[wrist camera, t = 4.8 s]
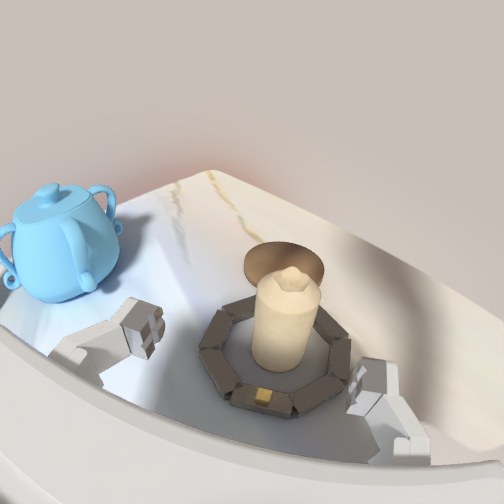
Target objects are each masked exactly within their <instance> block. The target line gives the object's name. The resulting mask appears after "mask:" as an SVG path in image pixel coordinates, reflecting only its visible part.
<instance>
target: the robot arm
mask: <svg viewBox="0 0 504 504" xmlns="http://www.w3.org/2000/svg"><path fill="white" fill-rule="evenodd" d="M162 315H163V310H162V308H161V307H158V306H155V305H153V304H150V303H147V302H144V301H142V300H139V299H136V298H133V297H130V298H128V299H127V300H126V301H125V302H124V303H123V305H122V306H121V307H120V308H119V309H118V311H117V312H116V313H115V314H114V315H113V317H112V318H111V319H110V320H109V321H108V320H105V321H102V322H100V323H98V324H95V325H93V326H90V327H88V328H86V329H83V330H81V331H78V332H76V333H73V334H71V335H68V336H66V337H64V338H63V339H62V340H61V341H60V342H59V343H58V344H57V346H56V347H55V348H54V349H53V351H52V352H51V353H50V354H49V355H48V357H47V356H46V355H44V354H43V353H41V352H40V351H38V350H37V349H35V348H34V347H32V346H31V345H29V344H28V343H26V342H25V341H24V340H22V339H21V338H19V337H18V336H17V335H15V334H14V333H13V332H11V331H10V330H9V329H7V328H6V327H5V326H3V325H0V504H504V465H503V464H502V463H501V462H500V461H499V460H488V461H481V462H473V463H463V464H450V465H431V466H430V437H429V435H428V434H427V432H426V431H425V429H424V428H423V426H422V425H421V423H420V422H419V420H418V419H417V417H416V416H415V414H414V413H413V411H412V410H411V408H410V407H409V405H408V404H407V402H406V401H405V399H404V398H403V396H399V378H398V364H397V362H393V361H387V360H382V359H375V358H368V357H362V356H361V357H360V358H359V360H358V362H357V367H356V368H354V369H353V371H352V373H351V375H350V378H349V383H348V391H349V393H350V395H349V397H348V398H347V402H346V413H347V414H353V415H359V416H365V419H366V421H367V424H368V426H369V428H370V430H371V432H372V434H373V437H374V439H375V441H376V443H377V445H378V448H379V450H380V452H378V453H377V454H376V455H375V456H373V457H372V458H371V459H369V460H368V464H359V463H349V462H340V461H332V460H324V459H318V458H311V457H305V456H300V455H294V454H289V453H284V452H279V451H275V450H270V449H266V448H262V447H258V446H254V445H250V444H246V443H242V442H238V441H235V440H231V439H228V438H224V437H221V436H218V435H215V434H212V433H208V432H205V431H202V430H199V429H196V428H194V427H191V426H188V425H185V424H182V423H180V422H177V421H174V420H172V419H169V418H167V417H164V416H162V415H159V414H157V413H154V412H152V411H150V410H147V409H145V408H143V407H140V406H138V405H136V404H134V403H131V402H129V401H127V400H125V399H123V398H121V397H119V396H117V395H115V394H113V393H111V392H109V391H107V390H105V389H103V388H102V387H103V385H104V384H103V381H102V380H101V378H100V376H99V374H100V373H101V372H103V371H105V370H107V369H108V368H110V367H112V366H113V365H115V364H117V363H118V362H120V361H122V360H123V359H125V358H127V357H129V356H130V355H131V354H133V355H135V356H138V357H141V358H143V359H146V360H148V359H149V358H150V356H151V354H152V353H153V351H154V350H155V346H154V344H155V343H158V342H160V340H161V339H162V337H163V334H164V331H165V321H164V320H163V318H162V317H161V316H162Z"/></svg>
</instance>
